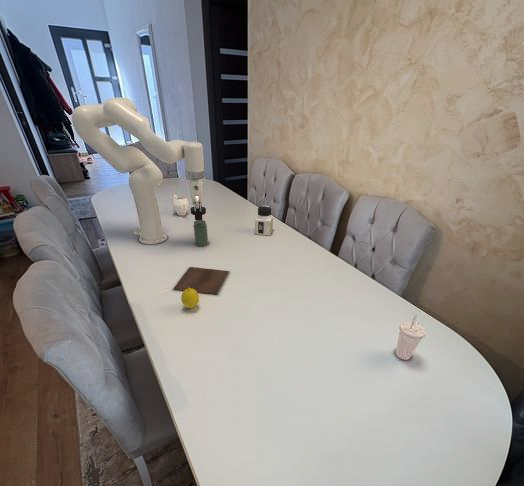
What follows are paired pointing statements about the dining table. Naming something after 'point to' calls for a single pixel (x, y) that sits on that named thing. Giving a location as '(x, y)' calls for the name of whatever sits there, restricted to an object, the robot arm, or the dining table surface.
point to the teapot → (180, 205)
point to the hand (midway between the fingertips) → (198, 216)
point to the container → (264, 221)
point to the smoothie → (409, 338)
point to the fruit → (190, 298)
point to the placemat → (202, 280)
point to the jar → (200, 233)
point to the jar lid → (201, 210)
